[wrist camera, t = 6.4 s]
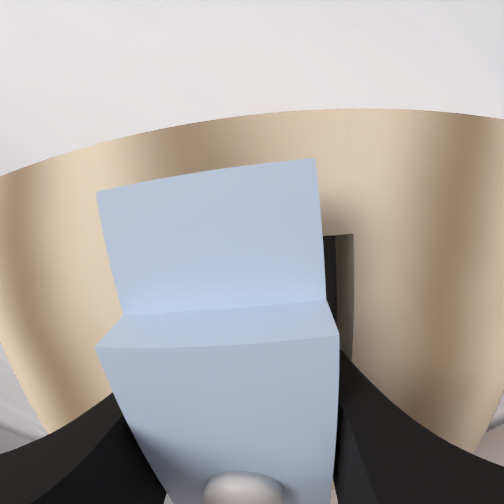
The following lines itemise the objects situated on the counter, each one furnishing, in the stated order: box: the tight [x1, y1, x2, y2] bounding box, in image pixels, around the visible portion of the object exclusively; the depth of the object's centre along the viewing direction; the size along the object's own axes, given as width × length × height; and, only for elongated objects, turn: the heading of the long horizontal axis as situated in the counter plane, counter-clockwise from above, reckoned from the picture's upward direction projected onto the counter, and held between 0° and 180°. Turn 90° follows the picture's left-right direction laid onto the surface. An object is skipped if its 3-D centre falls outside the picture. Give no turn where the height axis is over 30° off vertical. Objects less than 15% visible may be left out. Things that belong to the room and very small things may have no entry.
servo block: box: [95, 158, 339, 504], centre depth 7 cm, size 4×11×5 cm, turn 7°
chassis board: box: [0, 109, 504, 489], centre depth 10 cm, size 20×14×2 cm
